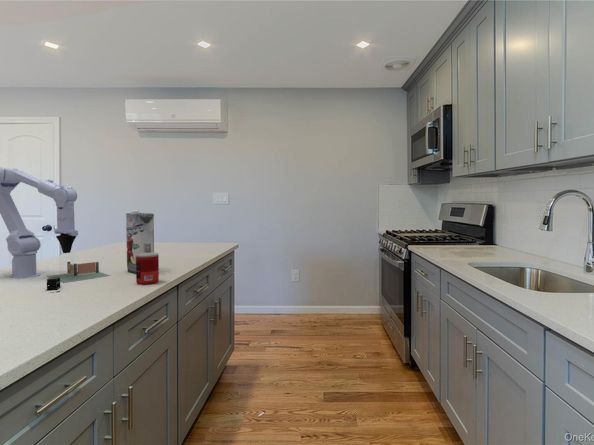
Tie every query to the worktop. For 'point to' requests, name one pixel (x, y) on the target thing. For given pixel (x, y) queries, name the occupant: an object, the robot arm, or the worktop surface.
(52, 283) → the black small block
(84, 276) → the card
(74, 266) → the tan and grey block
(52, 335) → the worktop surface
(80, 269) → the gate panel
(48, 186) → the robot arm
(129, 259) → the juice carton
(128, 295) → the worktop surface
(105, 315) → the worktop surface
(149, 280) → the canned food
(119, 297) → the worktop surface
